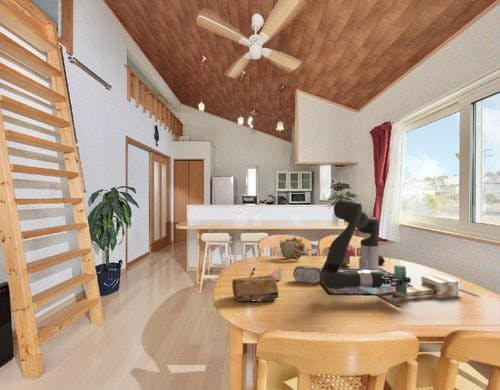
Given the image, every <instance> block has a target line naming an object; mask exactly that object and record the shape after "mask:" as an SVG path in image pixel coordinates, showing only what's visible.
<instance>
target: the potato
mask: <svg viewBox="0 0 500 390" xmlns="http://www.w3.org/2000/svg"><path fill="white" fill-rule="evenodd" d="M384 263H385V258H384V257H383V256H381V255H379V254H378V266H379V265H384Z"/></svg>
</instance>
